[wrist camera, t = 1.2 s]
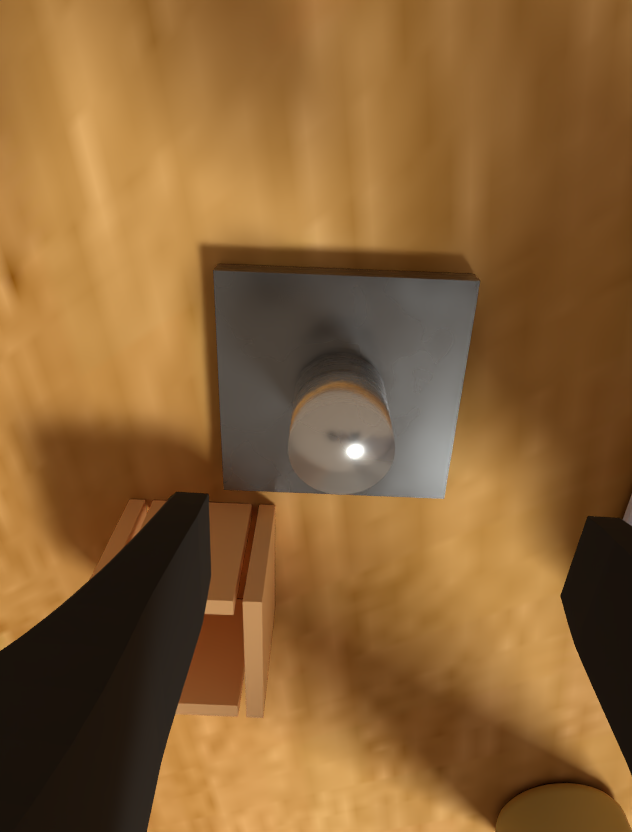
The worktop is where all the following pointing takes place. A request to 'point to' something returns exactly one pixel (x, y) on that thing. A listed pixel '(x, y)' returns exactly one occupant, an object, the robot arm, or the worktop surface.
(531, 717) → the worktop surface
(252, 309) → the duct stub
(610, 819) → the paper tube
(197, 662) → the brown hollow box
